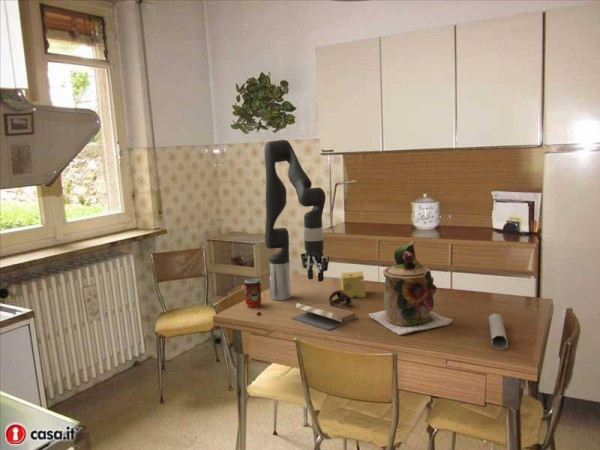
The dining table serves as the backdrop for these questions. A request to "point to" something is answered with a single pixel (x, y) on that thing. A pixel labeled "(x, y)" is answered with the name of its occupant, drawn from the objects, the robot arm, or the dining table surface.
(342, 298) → the pottery mug
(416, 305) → the cookie jar
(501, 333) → the tube
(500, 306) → the dining table surface
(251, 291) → the soda can
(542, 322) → the dining table surface
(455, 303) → the dining table surface
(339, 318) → the plank
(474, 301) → the dining table surface
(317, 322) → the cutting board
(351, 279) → the cheese
